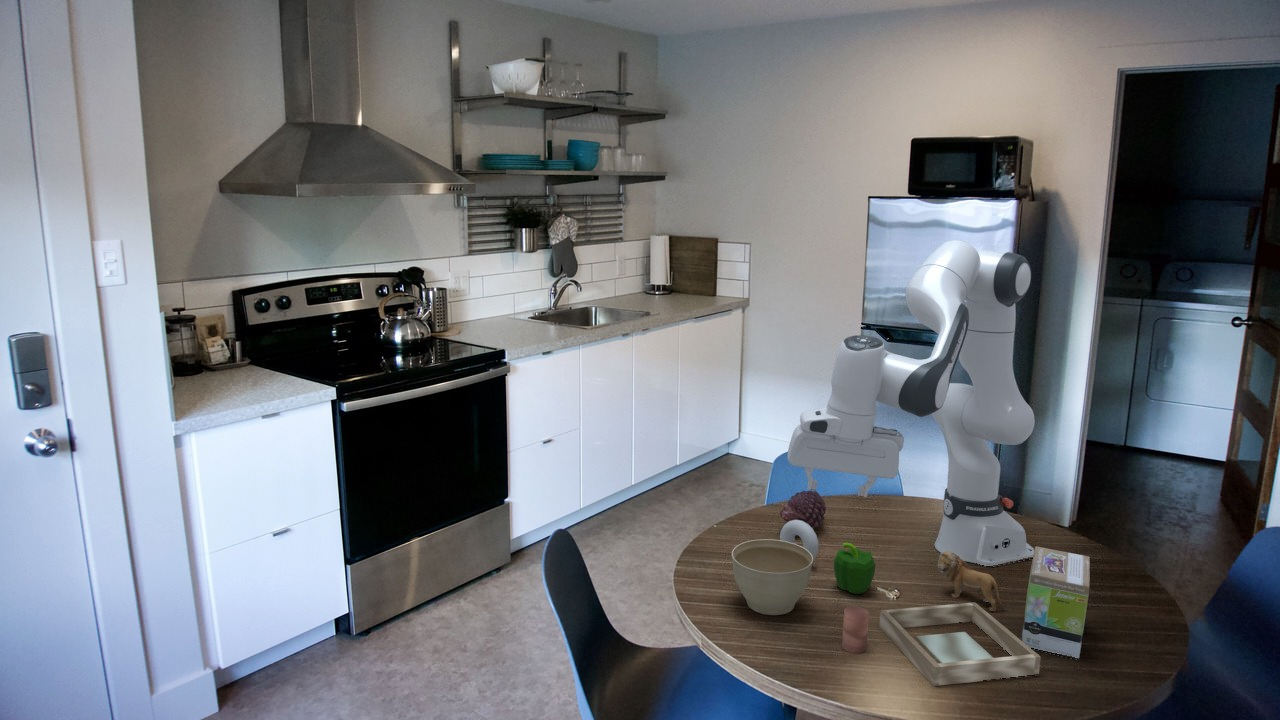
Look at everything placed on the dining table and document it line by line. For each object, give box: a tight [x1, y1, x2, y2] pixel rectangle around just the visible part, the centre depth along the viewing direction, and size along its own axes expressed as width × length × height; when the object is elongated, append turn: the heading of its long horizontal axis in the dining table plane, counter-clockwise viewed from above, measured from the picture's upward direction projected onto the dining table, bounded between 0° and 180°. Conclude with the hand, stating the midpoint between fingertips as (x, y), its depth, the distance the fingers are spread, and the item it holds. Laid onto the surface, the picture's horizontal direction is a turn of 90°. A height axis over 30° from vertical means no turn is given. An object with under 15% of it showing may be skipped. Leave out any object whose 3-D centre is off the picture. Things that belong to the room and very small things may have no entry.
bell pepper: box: [833, 542, 876, 595], centre depth 177 cm, size 8×8×10 cm
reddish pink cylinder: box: [841, 605, 870, 655], centre depth 154 cm, size 4×4×7 cm
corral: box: [879, 601, 1042, 687], centre depth 154 cm, size 20×20×4 cm
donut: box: [779, 520, 820, 560], centre depth 189 cm, size 10×3×10 cm, turn 41°
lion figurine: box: [937, 551, 1009, 612], centre depth 172 cm, size 15×5×9 cm, turn 50°
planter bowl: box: [731, 538, 814, 616], centre depth 169 cm, size 16×16×11 cm
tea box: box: [1021, 546, 1091, 659], centre depth 158 cm, size 15×10×15 cm
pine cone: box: [779, 490, 827, 531], centre depth 208 cm, size 18×10×10 cm, turn 141°
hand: (836, 492), depth 158 cm, fingers open, 8 cm apart
